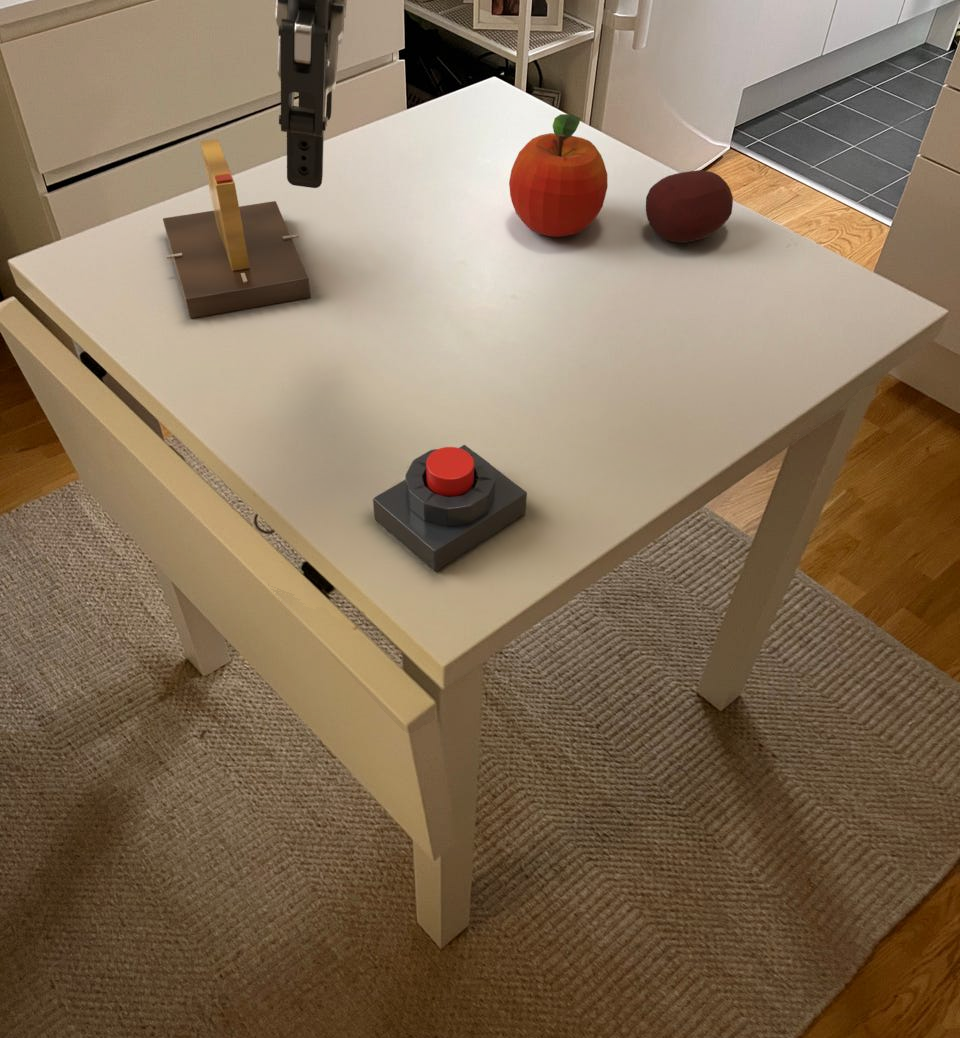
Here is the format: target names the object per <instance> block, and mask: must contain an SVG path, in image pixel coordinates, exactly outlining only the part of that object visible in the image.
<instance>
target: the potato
mask: <svg viewBox="0 0 960 1038" xmlns="http://www.w3.org/2000/svg"><path fill="white" fill-rule="evenodd" d="M733 204H734V196H733V194H732V190H731V188H730V186H729V185H728V183H727V181H725V179H723V178H722V177H721V176H720V175H719V174H717V173H715V172H713V171H710V170H709V171H708V170H703V169H699V170H698V169H697V170H689V171H682V172H677V173H674V174H670V175H667V176H665V177H663V178H661V179H660V180H658V181H657V182H656V183H654V184H653V185H652V186H651V187H650V188H649V190H648V193H647V194H646V198H645V213H646V214H645V215H646V218H647V221H648V225H649V226H650V228H651V229H652V230H653V231H654V232H655V234H656V235H657V236H659V237H660V238H662V239H664V240H666V241H669V242H675V243H690V242H693V241H697V240H701V239H704V238H706V237H708V236H709V235H711V234H713V233H715V232H716V231H718V230H719V229H720V228H721V227H722V226H723V225H724V224H725V223H726V222H727V221H728V220H729V219H730V217H731V215H732V213H733Z"/></svg>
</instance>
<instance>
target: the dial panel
mask: <svg viewBox="0 0 960 1038" xmlns="http://www.w3.org/2000/svg"><path fill="white" fill-rule="evenodd" d="M239 210H240V215H241V221H242V226H243V232H244V238H245V243H246V249H247V254H248V260H249V266H250V268H247V269H242V270H236V271H232V268H231V265H230V262H229V259H228V256H227V253H226V251H225V248H224V245H223V242H222V239H221V236H220V233H219V230H218V227H217V223H216V218H215V213H214V210H208V211H202V212H196V213H189V214H182V215H175V216H168V217H164V218H162V222H163V226H164V230H165V234H166V238H167V241H168V245H169V248H170V252H171V254H166V255H165V257H166V259H167V260H168V259H169V260H170V259H172V260H173V263H174V266H175V270H176V273H177V276H178V281H179V285H180V287H181V288H180V289H181V291H182V294H183V297H184V300H185V301H184V302H185V306H186V308H187V312H188V315H189V319H195V318H202V317H206V316H213V315H219V314H224V313H230V312H235V311H240V310H246V309H247V310H248V309H252V308H259V307H265V306H269V305H275V304H281V303H285V302H291V301H298V300H303V299H309V298H311V288H310V281H309V280H310V279H309V277H308V274H307V272H306V269H305V267H304V265H303V262H302V260H301V258H300V255H299V253H298V251H297V248H296V245H295V244H294V241H293V239H297V238H299V236H298V234H297V233H295V234H290V231H289V229H288V226H287V224H286V222H285V219H284V217H283V215H282V213H281V209H280V207H279V206H278V203H277V201H276V200H273V201H267V202H259V203H253V204H247V205H241V206H240V205H239Z"/></svg>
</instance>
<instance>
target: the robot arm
mask: <svg viewBox="0 0 960 1038" xmlns="http://www.w3.org/2000/svg"><path fill="white" fill-rule="evenodd" d="M347 4H348V0H275V22H276V26H277V30H278V49H277V50H278V51H277V70H276V71H277V76H278V79H279V81H280V114H279V115H278V125H280V132H282V133H283V132H284V133H286V179H287V182H288V183H289V184H290V185H291V186H296V187H301V188H302V187H304V188H311V189H316V188H317V189H318V188H320V187H321V186H322V184H323V176H324V175H323V174H324V144H325V143H324V141H325V140H324V138H325V132H326V128H327V127H328V123H329V120H330V119H331V117H332V111H333V110H332V107H333V91H334V90H335V89H336V87H337V74H338V73H337V72H338V59H339V56H338V55H339V45H341V44H342V42H343V37H344V29H345V28H344V27H345V18H346V17H347V6H348V5H347ZM295 93H297V94H298V105H295Z"/></svg>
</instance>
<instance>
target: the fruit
mask: <svg viewBox="0 0 960 1038" xmlns="http://www.w3.org/2000/svg"><path fill="white" fill-rule="evenodd" d="M580 122H581V117H579V116H576V115H574V114H573V113H560V114H559V115H557V116H556V117H554V120H553V123H552V130H553V132H549V133H545V134H541V135H538V136H535V137H532V138H531V139H530V140H529V141H528V142H527V143H526V144H525V145H524V146H523V148H521V150H519V152H518V153H517V155H516V158H515V160H514V162H513V164H512V168H511V170H510V176H509V182H508V186H509V195H510V200H511V204H512V206H513V210H514V212H515V214H516V215H517V217H518V218H519V219H520V220H521V222H522V223H523V224H524V225H525V226H526V227H527V228H528V229H529V230H531V231H533V232H535V233H537V234H540V235H543V236H547V237H553V238H560V237H567V236H571V235H576V234H578V233H580V232H582V231H583V230H585V229H586V228H587V227H588V226H590V224H592V222H593V221H595V219H596V218H597V217H598V216H599V214H600V212H601V211H602V208H603V207H604V204H605V203H604V202H605V199H606V196H607V190H608V183H609V182H608V171H607V168H606V163H605V161H604V159H603V156H602V154H601V153H600V151H599V150H598V148H597V147H596V145H595V144H593V142H591V140H588V139H586V138H583V137H580V136H575V135H574V133H575V132H576V131H577V129H578V127H579V125H580Z"/></svg>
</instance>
